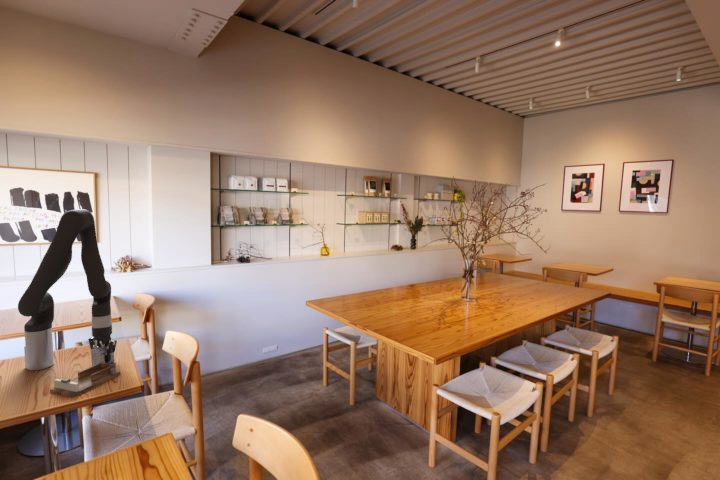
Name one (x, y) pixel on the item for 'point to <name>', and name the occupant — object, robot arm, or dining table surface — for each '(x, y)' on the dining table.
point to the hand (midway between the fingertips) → (103, 360)
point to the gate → (66, 384)
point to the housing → (90, 378)
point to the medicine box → (100, 356)
